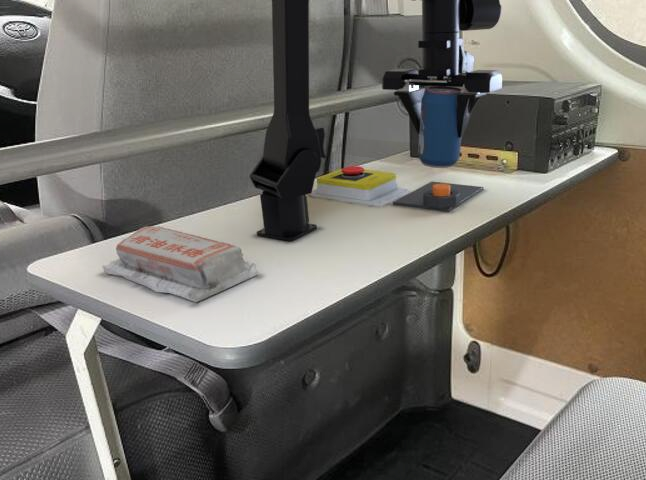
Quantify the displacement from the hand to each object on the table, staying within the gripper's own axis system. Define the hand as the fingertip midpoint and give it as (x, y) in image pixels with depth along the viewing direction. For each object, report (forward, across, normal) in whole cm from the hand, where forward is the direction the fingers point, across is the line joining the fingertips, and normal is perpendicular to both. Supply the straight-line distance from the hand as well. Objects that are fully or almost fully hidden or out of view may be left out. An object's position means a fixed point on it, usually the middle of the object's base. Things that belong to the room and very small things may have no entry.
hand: (440, 135), depth 103 cm
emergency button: (+10, +13, +6) cm, 17 cm away
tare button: (+8, -3, +7) cm, 11 cm away
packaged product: (+10, +14, +46) cm, 49 cm away
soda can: (+5, 0, 0) cm, 5 cm away
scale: (+10, -1, +2) cm, 10 cm away
